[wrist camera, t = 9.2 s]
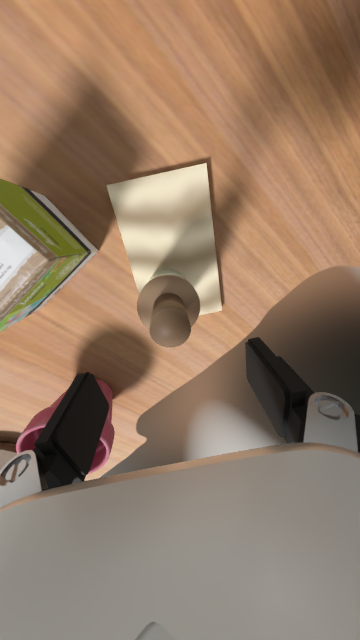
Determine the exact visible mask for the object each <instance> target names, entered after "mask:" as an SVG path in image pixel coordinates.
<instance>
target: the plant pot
mask: <svg viewBox="0 0 360 640" xmlns="http://www.w3.org/2000/svg"><path fill="white" fill-rule="evenodd" d="M96 381H97V383H98V385H99V386H100V388H101V390H102V392H103V394H104V396H105V397H106V399H107V401H108V403H109V412H108V415H107V418H106V421H105V424H104V427H103V431H102V434H101V437H100V440H99V443H98V446H97V449H96V453H95V456H94V459H93V462H92V465H91V468H90V471H89V473H92V472H94V471H96V470H98V469H99V468H101V467H102V466H103V465H104V464H105V463H106V461H107V460H108V458H109V455H110V452H111V448H112V444H113V440H114V428H113V425H112V423H111V419H112V398H113V393H112V390H111V388H110V386H109V385H108V384H106V383H105V382H103V381H101V380H99V379H96ZM66 392H67V391H66ZM66 392H65V393H63V394H62V395H61V396H60V397H59V398H58V399H57V400H56V401H55V402H54V403H53V404H52V405H51V406H50V407H48V408H46V409H44V410H42V411H40V412H39V413H38V414H36V415H35V416H34V418H33V419H32V420H31V421H30V423H29V424H28V425H27V427H26V428H25V430H24V431H23V432H22V434H21V435H20V437H19V438H18V441H17V444H16V451H17V454H19V453H21V452H24V451H26V450H32V451H33V450H34V449H35V447H36V446H35V445H34V443H35V442H36V440H37V438H38V437H39V435H40V434H41V432H42V430H43V429H44V427H45V426H46V424H47V422H48V421H49V419H50V418H51V416H52V414H53V413H54V411H55V410H56V408H57V406H58V405H59V403H60V402H61V400H62V398H63V397H64V395H65V394H66ZM89 473H88V474H89Z"/></svg>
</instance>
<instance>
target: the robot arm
mask: <svg viewBox="0 0 360 640" xmlns="http://www.w3.org/2000/svg"><path fill="white" fill-rule="evenodd" d="M245 345H246V369H247V370H246V371H247V379H248V382H249V384H250V385H251V387H252V389H253V390H254V392H255V394H256V396H257V398H258V400H259V401H260V403H261V404H262V407H263V409H264V410H265V412H266V414H267V416H268V417H269V419H270V421H271V423H272V425H273V426H274V428H275V430H276V432H277V433H278V435H279V436H280V437H284V439H285V441H286V443H287V444H280V445H274V446H268V447H262V448H256V449H250V450H245V451H238V452H233V453H228V454H222V455H217V456H212V457H207V458H201V459H196V460H191V461H185V462H181V463H175V464H170V465H165V466H159V467H154V468H149V469H144V470H139V471H134V472H129V473H124V474H119V475H114V476H109V477H104V478H99V479H94V480H89V481H84V479H85V476H86V475H87V474H88V473H89V471H90V468H91V465H92V462H93V459H94V456H95V453H96V449H97V446H98V443H99V440H100V437H101V434H102V431H103V427H104V424H105V421H106V418H107V415H108V412H109V403H108V401H107V399H106V397H105V396H104V394H103V392H102V390H101V388H100V386H99V385H98V383H97V381H96V379H95V377H94V375H93V374H90V373H89V372H86V373H81V374H78V375H77V376H76V378H75V379H74V381H73V382H72V384H71V386H70V387H69V389H68V390H67V392H66V394H65V395H64V397H63V398H62V400H61V402H60V403H59V405H58V406H57V408H56V410H55V411H54V413H53V414H52V416H51V418H50V419H49V421H48V422H47V424H46V426H45V427H44V429H43V430H42V432H41V434H40V435H39V437H38V438H37V440H36V442H35V443H34V445H35V446H36V447H35V449H34V450H33V451H32V450H26V451H24V452H21V453H19V454H18V455H16V456H14V457H13V458H12V459H11V460H9V461H8V462H7V463H6V464H5V465H4V466H3V468H2V469H1V470H0V640H360V416H359V415H357V414H354V412H353V409H352V408H351V407H350V405H349V404H348V403H347V402H345V401H344V400H343V399H341V398H339V397H337V396H335V395H332V394H329V393H314V392H313V391H312V390H311V389H310V388H309V386H308V385H307V384H306V383H305V382H304V381H303V380H302V379H301V378H300V377H299V376H298V375H297V374H296V373H295V371H294V370H293V369H292V368H291V367H290V366H289V365H288V364H287V363H286V362H285V361H284V360H283V359H282V358H281V357H279V356H278V357H276V356H275V354H274V353H273V352H272V351H271V350H270V349H269V348H268V347H267V346H266V344H265V343H264V342H263V341H262V340H261V339H260V338H258V337H257V338H252V339H249V340H248V342H246V343H245ZM293 442H294V443H293ZM288 443H289V444H288Z"/></svg>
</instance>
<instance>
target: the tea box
mask: <svg viewBox="0 0 360 640" xmlns="http://www.w3.org/2000/svg"><path fill="white" fill-rule="evenodd" d="M97 252H98V250H97V249H96V248H95V247H94V246H93V245H92V244H91V243H90V242H89V241H88V240H87V239H86V238H85V237H84V236H83V235H82V234H81V233H80V232H79V231H78V229H77V228H76V227H75V226H74V225H73V224H72V223H71V222H70V221H69V220H68V219H67V218H66V217H65V216H64V215H63V214H62V213H61V212H60V211H59V210H58V209H57V208H56V207H55V206H54V205H53V204H52V203H51V202H50V201H49V200H48V199H47V198H46V197H45V196H44V195H42V194H39V193H37V192H34V191H31V190H29V189H27V188H24V187H21V186H18V185H16V184H13V183H10V182H8V181H5V180H2V179H0V332H1V331H3V330H4V329H6V328H8V327H9V326H11V325H13V324H14V323H16V322H18V321H20V320H22V319H23V318H25V317H27V316H28V315H30V314H32V313H34V312H35V311H37V310H39V309H40V308H42V307H43V306H44V305H45V304H46V303H47V302H48V301H49V300H50V299H51V298H52V297H53V296H54V295H55V294H56V293H57V292H59V291H60V290H61V289H62V288H63V287H64V285H65V284H66V283H67V282H68V281H69V280H70V279H71V278H73V277H74V276H75V275H76V274H77V273H78V271H79V270H80V269H81V268H82V267H83V266H84V265H86V263H87V262H88V261H89V260H90V259H91V258H92V257H93V256H94V255H95V254H96V253H97Z"/></svg>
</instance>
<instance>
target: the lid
mask: <svg viewBox="0 0 360 640" xmlns="http://www.w3.org/2000/svg"><path fill="white" fill-rule="evenodd" d="M137 311H138V315H139V317H140V319H141V321H142V323H143V324H144V325H145V326H146V327H147V328H148V329H149V330H150V335H151V337H152V339H153V340H154V341H155V342H156V343H157V344H159V345H161V346H163V347H176V346H179V345H181V344H183V343H184V342H185V341H186V340H187V339H188V337H189V335H190V332H191V327H192V326H193V324H194V323H195V322H196V320H197V318H198V316H199V313H200V300H199V296H198V294H197V292H196V290H195V289H194V287H193V286H192V285H191V284H190V283H189V282H188V281H187V280H185V279H184V278H182V277H179V276H176V275H161V276H158V277H155V278H153V279H152V280H150V281H149V282H148V283H147V284H146V285H145V286H144V287H143V289H142V291H141V293H140V295H139V298H138V302H137Z"/></svg>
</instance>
